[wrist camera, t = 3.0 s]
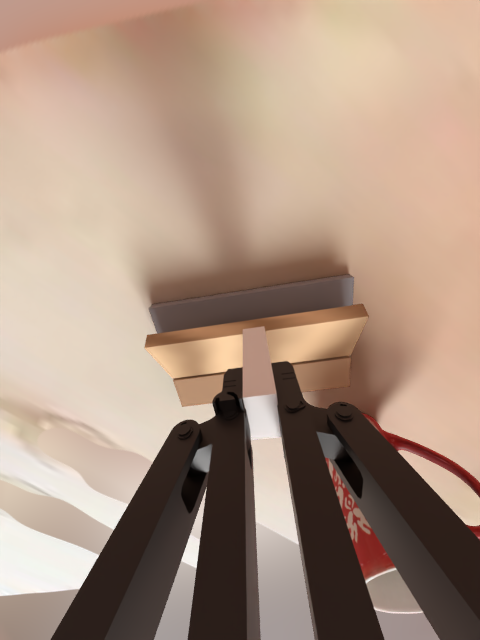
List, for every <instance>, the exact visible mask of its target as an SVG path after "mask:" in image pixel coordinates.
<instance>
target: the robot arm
mask: <svg viewBox="0 0 480 640" xmlns="http://www.w3.org/2000/svg"><path fill="white" fill-rule="evenodd" d="M212 403H213V407H214V411H215V414H216V416H215V417H213V418H212V419H210V420H208V421H206V422H204V423H201V424H198V423H197V422H196V421H194V420H185V421H182V422H180V423H179V424H177V425H176V426H175V427H174V428H173V429H172V431H171V432H170V434H169V436H168V438H167V439H166V441H165V443H164V445H163V446H162V448H161V450H160V451H159V453H158V455H157V457H156V458H155V460H154V462H153V464H152V465H151V467H150V469H149V471H148V472H147V474H146V476H145V478H144V479H143V481H142V483H141V484H140V486H139V488H138V490H137V491H136V493H135V495H134V496H133V498H132V500H131V502H130V503H129V505H128V507H127V509H126V510H125V512H124V514H123V515H122V517H121V519H120V521H119V522H118V524H117V526H116V528H115V529H114V531H113V533H112V534H111V536H110V538H109V540H108V541H107V543H106V545H105V547H104V548H103V550H102V552H101V553H100V555H99V557H98V559H97V560H96V562H95V564H94V566H93V567H92V569H91V571H90V572H89V574H88V576H87V578H86V579H85V581H84V583H83V585H82V586H81V588H80V590H79V592H78V593H77V595H76V597H75V598H74V600H73V602H72V604H71V605H70V607H69V609H68V611H67V613H66V614H65V616H64V617H63V619H62V621H61V623H60V624H59V626H58V628H57V630H56V631H55V633H54V635H53V636H52V638H51V640H154V637H155V634H156V631H157V628H158V625H159V623H160V620H161V617H162V614H163V611H164V608H165V605H166V602H167V600H168V596H169V594H170V591H171V588H172V585H173V582H174V579H175V576H176V574H177V570H178V568H179V565H180V562H181V559H182V556H183V553H184V550H185V548H186V545H187V542H188V539H189V536H190V533H191V530H192V527H193V524H194V521H195V519H196V516H197V513H198V510H199V507H200V504H201V501H202V498H203V495H204V493H205V490H206V487H207V490H206V498H205V507H204V514H203V522H202V530H201V538H200V546H199V554H198V562H197V570H196V578H195V586H194V595H193V602H192V610H191V618H190V626H189V634H188V640H261V639H260V618H259V617H260V616H259V593H258V571H257V570H258V569H257V549H256V524H255V500H254V477H253V454H252V447H251V440H258V439H267V438H277V437H282V443H283V451H284V459H285V462H286V468H287V474H288V480H289V486H290V493H291V499H292V505H293V511H294V517H295V523H296V529H297V535H298V541H299V547H300V553H301V559H302V565H303V571H304V577H305V583H306V589H307V595H308V600H309V607H310V613H311V619H312V625H313V631H314V637H315V640H384V637H383V634H382V631H381V628H380V625H379V621H378V619H377V615H376V612H375V609H374V606H373V603H372V600H371V597H370V594H369V591H368V588H367V585H366V582H365V579H364V576H363V572H362V569H361V566H360V563H359V560H358V557H357V554H356V551H355V548H354V545H353V542H352V539H351V536H350V533H349V530H348V527H347V524H346V520H345V517H344V514H343V511H342V508H341V505H340V502H339V499H338V496H337V493H336V490H335V487H334V484H333V481H332V478H331V475H330V472H329V468H328V465H327V462H326V459H325V458H329V460H330V462H331V463H332V465H333V467H334V468H335V470H336V472H337V473H338V475H339V476H340V478H341V480H342V481H343V483H344V485H345V486H346V488H347V489H348V491H349V493H350V494H351V496H352V498H353V499H354V501H355V502H356V504H357V506H358V507H359V509H360V511H361V512H362V514H363V515H364V517H365V519H366V520H367V522H368V524H369V525H370V527H371V528H372V530H373V532H374V533H375V535H376V537H377V538H378V540H379V541H380V543H381V545H382V546H383V548H384V549H385V551H386V553H387V554H388V556H389V558H390V559H391V561H392V562H393V564H394V566H395V567H396V569H397V571H398V572H399V574H400V575H401V577H402V579H403V580H404V582H405V584H406V585H407V587H408V588H409V590H410V592H411V593H412V595H413V597H414V598H415V600H416V601H417V603H418V605H419V606H420V608H421V610H422V611H423V613H424V614H425V616H426V618H427V619H428V621H429V622H430V624H431V626H432V627H433V629H434V631H435V632H436V634H437V635H438V637H439V639H440V640H480V539H479V538H478V537H477V536H476V535H475V534H474V533H473V532H472V531H471V530H470V529H469V528H468V527H467V525H466V524H465V523H464V522H463V521H462V520H461V519H460V518H459V517H458V516H457V515H456V514H455V513H454V512H453V510H452V509H451V508H450V507H449V506H448V505H447V504H446V503H445V502H444V501H443V500H442V499H441V498H440V497H439V495H438V494H437V493H436V492H435V491H434V490H433V489H432V488H431V487H430V486H429V485H428V484H427V483H426V482H425V480H424V479H423V478H422V477H421V476H420V475H419V474H418V473H417V472H416V471H415V470H414V469H413V468H412V466H411V465H410V464H409V463H408V462H407V461H406V460H405V459H404V458H403V457H402V456H401V455H400V454H399V453H398V451H397V450H396V449H395V448H394V447H393V446H392V445H391V444H390V443H389V442H388V441H387V440H386V439H385V438H384V436H383V435H382V434H381V433H380V432H379V431H378V430H377V429H376V428H375V427H374V426H373V425H372V424H371V423H370V421H369V420H368V419H367V418H366V417H365V416H364V415H363V414H362V413H361V412H360V411H359V410H358V409H357V408H356V407H355V406H353V405H351V404H348V403H344V402H337V403H334V404H332V405H330V406H329V408H328V409H323V408H317V407H314V406H312V405H310V404H308V403H307V402H306V401H305V400H304V398H303V396H302V393H301V389H300V386H299V383H298V380H297V377H296V374H295V371H294V368H293V365H291V364H290V363H289V362H288V361H283V362H276V363H271V360H270V355H269V349H268V344H267V338H266V333H265V327H264V326H262V327H255V328H248V329H243V367H241V368H233V369H228V370H227V371H226V373H225V374H224V378H223V388H222V392H220V393H218V394H217V395H216V396H215V397H214V399H213V401H212Z"/></svg>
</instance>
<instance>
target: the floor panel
mask: <svg viewBox="0 0 480 640" xmlns="http://www.w3.org/2000/svg"><path fill="white" fill-rule="evenodd" d="M353 286H354V277H353V276H351V275H349V274H347V275H341V276H334V277H328V278H321V279H315V280H308V281H302V282H295V283H289V284H282V285H276V286H269V287H263V288H256V289H250V290H243V291H237V292H230V293H224V294H217V295H211V296H204V297H198V298H192V299H185V300H179V301H172V302H166V303H159V304H153V305H152V306H151V307H150V308H149V311H150V314H151V317H152V319H153V322H154V325H155V328H156V331H157V334H158V333H165V332H172V331H179V330H186V329H193V328H199V327H206V326H213V325H220V324H227V323H234V322H241V321H248V320H255V319H262V318H268V317H275V316H282V315H289V314H296V313H303V312H310V311H317V310H324V309H331V308H337V307H344V306H351V305H353ZM290 364H291V365H293V368H294V371H295V374H296V377H297V380H298V383H299V386H300V389H301V392H308V391H316V390H324V389H332V388H341V387H349V386H350V365H351V355H349V356H342V357H334V358H326V359H319V360H311V361H303V362H296V363H290ZM225 373H226V372H219V373H211V374H203V375H196V376H188V377H180V378H173V379H174V380H173V382H174V384H175V387H176V390H177V393H178V396H179V399H180V401H181V404H182V407H184V406H192V405H200V404H209V403H212V401H213V399H214V397H215V396H216V395H217V394H218V393H220V392H222V388H223V378H224V374H225Z"/></svg>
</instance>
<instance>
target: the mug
mask: <svg viewBox="0 0 480 640" xmlns="http://www.w3.org/2000/svg"><path fill="white" fill-rule="evenodd" d="M362 414H363V415H364V416H365V417H366V418H367V419H368V420H369V421H370V423H371V424H372V425H373V426H374V427H375V428H376V429H377V430H378V431H379V432H380V433H381V434H382V435H383V436H384V438H385V439H386V440H387V441H388V442H389V443H390V444H391V445H392V446H393V447H394V448H395V449H396V450H397V451H398V450H406V451H409V452H411V453H414V454H416V455H419V456H421V457H423V458H425V459H427V460H429V461H431V462H433V463H435V464H437V465H439V466H441V467H443V468H445V469H447V470H448V471H450V472H452V473H453V474H455V475H456V476H458V477H459V478H460V479H462V480H463V481H464V482H465V483H466V484H467V485H469V486H470V487H471V488H472V489H473V490H474V492H475V493H476V494H477V495H478V496H479V497H480V483H479V481H478V480H477V479H476V478H474V477H473V476H472V475H471V474H470V473H469V472H467V471H466V470H465V469H463V468H462V467H461V466H459V465H458V464H456V463H455V462H453V461H452V460H450V459H448V458H446V457H445V456H443V455H441V454H439V453H437V452H435V451H433V450H431V449H429V448H427V447H424V446H422V445H420V444H418V443H415V442H412V441H410V440H407V439H405V438H402V437H399V436H397V435H394V434H391V433H388V432H386V431H384V430H382V429H381V427H380V426H379V424H378V423H377V422H376V420H375V419H374V418H372V417H371V416H369V415H367V414H364V413H362ZM325 459H326V462H327V465H328V468H329V472H330V475H331V478H332V481H333V484H334V487H335V490H336V493H337V496H338V499H339V502H340V505H341V508H342V511H343V514H344V517H345V520H346V524H347V527H348V530H349V533H350V536H351V539H352V542H353V545H354V548H355V551H356V554H357V557H358V560H359V563H360V566H361V569H362V572H363V576H364V579H365V582H366V585H367V588H368V591H369V594H370V597H371V600H372V603H373V606H374V609H375V610H379V611H383V612H388V613H422V612H423V611H422V610H421V608H420V606H419V605H418V603H417V601H416V600H415V598H414V597H413V595H412V593H411V592H410V590H409V588H408V587H407V585H406V584H405V582H404V580H403V579H402V577H401V575H400V574H399V572H398V571H397V569H396V567H395V566H394V564H393V562H392V561H391V559H390V558H389V556H388V554H387V553H386V551H385V549H384V548H383V546H382V545H381V543H380V541H379V540H378V538H377V537H376V535H375V533H374V532H373V530H372V528H371V527H370V525H369V524H368V522H367V520H366V519H365V517H364V515H363V514H362V512H361V511H360V509H359V507H358V506H357V504H356V502H355V501H354V499H353V498H352V496H351V494H350V493H349V491H348V489H347V488H346V486H345V485H344V483H343V481H342V480H341V478H340V476H339V475H338V473H337V472H336V470H335V468H334V467H333V465H332V463H331V462H330V460H329V458H325ZM467 527H468V528H469V529H470V530H471V531H472V532H473V533H474V534H475V535H476V536H477V537H478V538H479V539H480V525H479V526H468V525H467Z"/></svg>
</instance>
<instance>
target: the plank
mask: <svg viewBox="0 0 480 640" xmlns="http://www.w3.org/2000/svg"><path fill="white" fill-rule="evenodd" d="M368 317H369V315H368V313H367V311H366V309H365V307H364V306H363V304H358V305H351V306H344V307H337V308H331V309H324V310H317V311H310V312H303V313H296V314H289V315H282V316H275V317H268V318H262V319H255V320H248V321H241V322H234V323H227V324H220V325H213V326H206V327H199V328H193V329H186V330H179V331H172V332H165V333H158V334H151V335H147V338H146V343H145V349H146V350H147V351H148V352H149V353H150V354H151V355H152V356H153V358H154V359H155V360H156V361H157V362H158V363H159V364H160V365H161V366H162V367H163V368H164V369H165V371H166V372H167V373H168V374H169V375H170V376H171V377H172V378H180V377H188V376H196V375H203V374H211V373H219V372H226V371H227V370H228V369H233V368H241V367H243V329H248V328H255V327H262V326H264V327H265V333H266V338H267V344H268V349H269V355H270V360H271V363H276V362H283V361H288V362H289V363H296V362H303V361H311V360H319V359H326V358H334V357H342V356H349V355H351V353H352V351H353V349H354V347H355V345H356V343H357V340H358V338H359V336H360V334H361V332H362V330H363V328H364V326H365V324H366V321H367V319H368Z"/></svg>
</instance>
